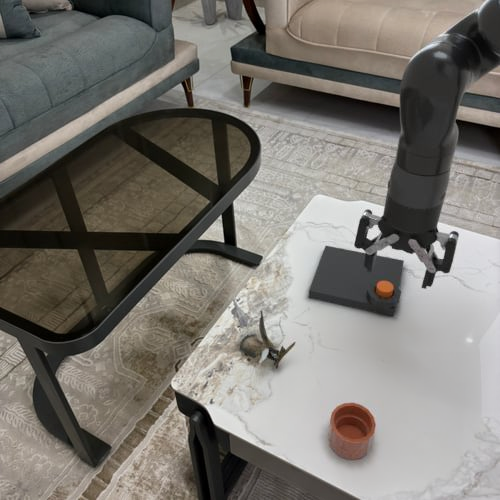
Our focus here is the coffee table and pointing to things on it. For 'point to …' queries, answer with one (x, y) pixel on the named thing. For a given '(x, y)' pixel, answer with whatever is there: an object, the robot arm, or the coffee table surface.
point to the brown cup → (351, 430)
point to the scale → (356, 280)
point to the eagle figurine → (263, 346)
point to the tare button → (384, 289)
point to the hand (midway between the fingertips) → (396, 276)
